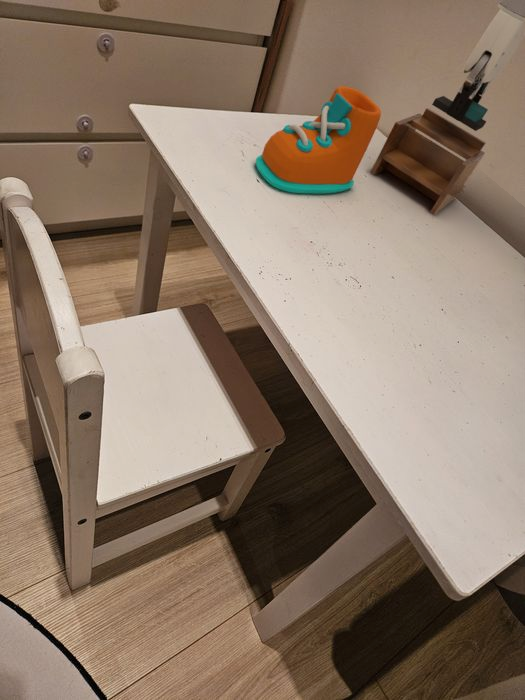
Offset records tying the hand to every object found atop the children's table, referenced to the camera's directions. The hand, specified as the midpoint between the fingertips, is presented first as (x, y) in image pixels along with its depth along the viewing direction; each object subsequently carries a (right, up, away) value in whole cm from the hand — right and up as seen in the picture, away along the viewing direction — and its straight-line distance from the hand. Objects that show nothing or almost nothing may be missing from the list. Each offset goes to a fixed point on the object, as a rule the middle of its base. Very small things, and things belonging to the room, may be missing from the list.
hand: (458, 114), depth 90 cm
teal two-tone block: (0, 0, 0) cm, 0 cm away
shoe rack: (-6, -11, +9) cm, 15 cm away
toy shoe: (-30, -13, -2) cm, 33 cm away
